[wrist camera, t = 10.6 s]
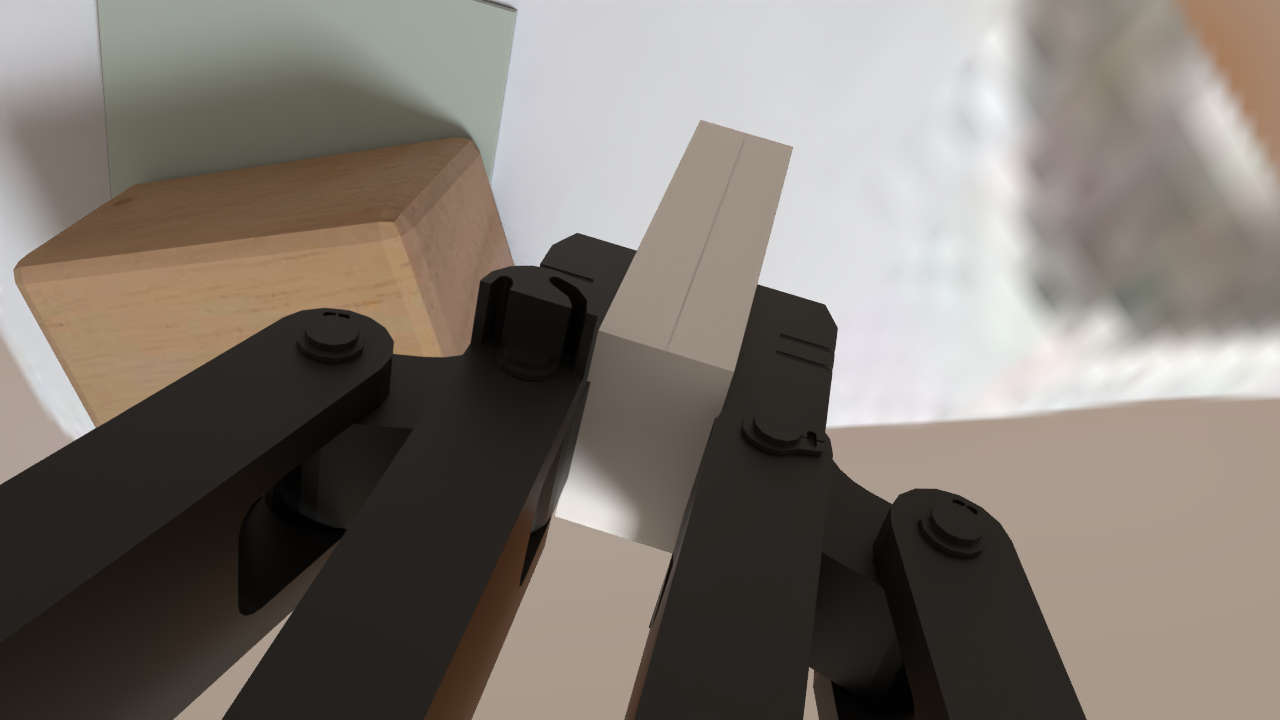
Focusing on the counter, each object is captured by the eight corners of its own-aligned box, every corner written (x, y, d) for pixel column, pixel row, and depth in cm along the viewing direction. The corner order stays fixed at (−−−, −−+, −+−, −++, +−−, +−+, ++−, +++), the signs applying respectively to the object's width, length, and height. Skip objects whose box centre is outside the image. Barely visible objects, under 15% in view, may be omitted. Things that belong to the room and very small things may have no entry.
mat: (95, -112, 49) (90, -111, 49) (517, 10, 48) (514, 12, 47) (116, 202, 58) (111, 205, 58) (471, 311, 57) (469, 315, 56)
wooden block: (481, 126, 51) (129, 179, 56) (396, 215, 42) (-6, 266, 48) (536, 313, 55) (207, 344, 61) (470, 425, 47) (97, 449, 53)
